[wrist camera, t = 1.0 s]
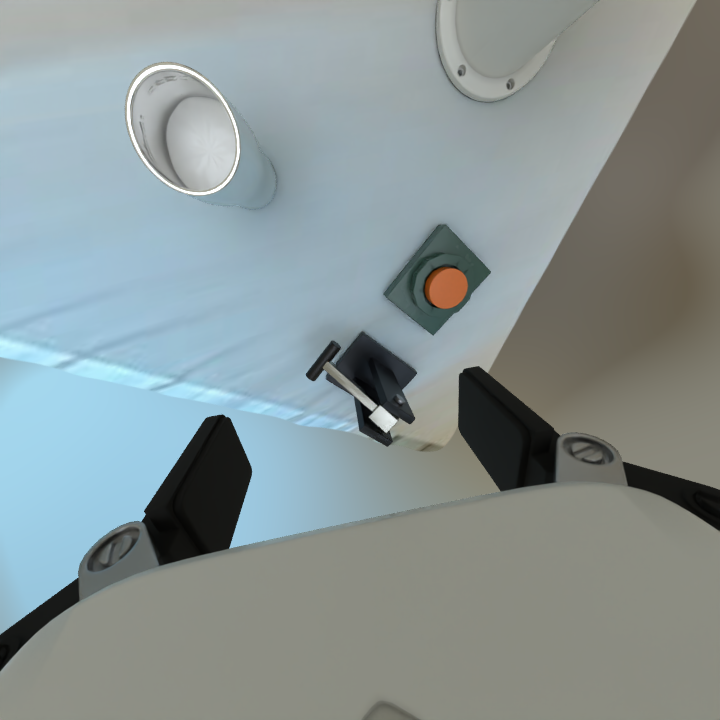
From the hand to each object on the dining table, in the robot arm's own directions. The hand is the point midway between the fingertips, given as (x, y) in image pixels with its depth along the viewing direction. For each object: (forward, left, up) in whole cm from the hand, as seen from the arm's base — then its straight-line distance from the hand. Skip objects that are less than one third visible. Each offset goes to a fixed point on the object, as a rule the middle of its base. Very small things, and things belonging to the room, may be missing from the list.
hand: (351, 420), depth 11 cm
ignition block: (-9, +10, -28) cm, 31 cm away
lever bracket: (+7, +12, -28) cm, 31 cm away
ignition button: (-9, +10, -25) cm, 28 cm away
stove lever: (+7, +8, -20) cm, 23 cm away
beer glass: (-4, -15, -28) cm, 32 cm away
